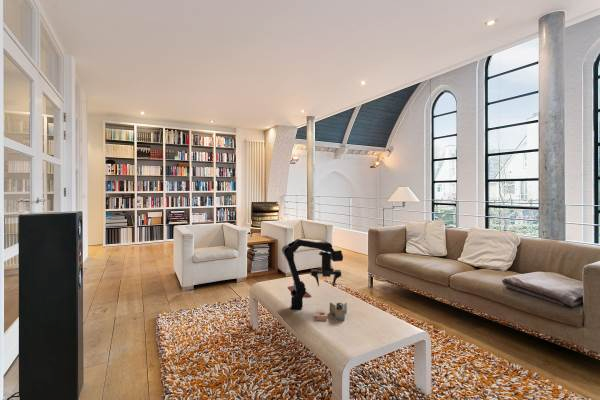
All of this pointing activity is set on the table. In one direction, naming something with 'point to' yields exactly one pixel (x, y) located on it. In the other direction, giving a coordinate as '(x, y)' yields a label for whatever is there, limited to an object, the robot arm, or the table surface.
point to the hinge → (338, 311)
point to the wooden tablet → (303, 296)
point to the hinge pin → (339, 305)
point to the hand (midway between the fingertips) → (325, 286)
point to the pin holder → (321, 315)
